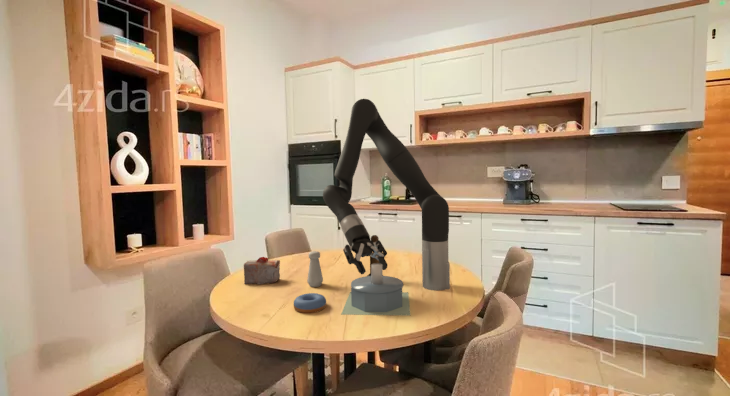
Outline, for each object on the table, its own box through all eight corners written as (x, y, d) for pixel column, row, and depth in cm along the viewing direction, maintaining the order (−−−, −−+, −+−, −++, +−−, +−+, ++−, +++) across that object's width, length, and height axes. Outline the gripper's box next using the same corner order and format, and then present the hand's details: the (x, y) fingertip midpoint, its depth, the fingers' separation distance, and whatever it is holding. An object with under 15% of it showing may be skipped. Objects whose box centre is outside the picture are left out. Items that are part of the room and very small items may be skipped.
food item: (282, 278, 140) (281, 254, 139) (278, 284, 132) (277, 259, 131) (248, 279, 139) (247, 255, 139) (242, 285, 131) (241, 260, 131)
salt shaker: (324, 284, 131) (323, 250, 130) (321, 288, 125) (320, 253, 125) (309, 283, 132) (308, 250, 131) (305, 288, 126) (304, 253, 125)
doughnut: (311, 316, 99) (311, 300, 100) (286, 312, 105) (286, 296, 105) (332, 309, 108) (332, 294, 108) (308, 305, 113) (308, 291, 113)
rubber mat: (408, 293, 118) (408, 292, 118) (410, 316, 99) (410, 315, 99) (350, 292, 120) (350, 291, 120) (341, 315, 100) (341, 314, 100)
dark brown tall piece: (386, 280, 134) (385, 234, 133) (381, 285, 128) (380, 237, 127) (369, 278, 137) (369, 233, 136) (364, 283, 131) (363, 236, 130)
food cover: (402, 294, 117) (402, 258, 116) (404, 312, 101) (403, 271, 100) (354, 293, 118) (353, 258, 118) (348, 312, 102) (347, 271, 101)
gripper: (340, 225, 112) (360, 267, 103) (375, 222, 120) (397, 260, 111) (332, 239, 117) (351, 281, 108) (367, 235, 125) (387, 273, 116)
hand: (374, 270), depth 110 cm, fingers open, 8 cm apart
